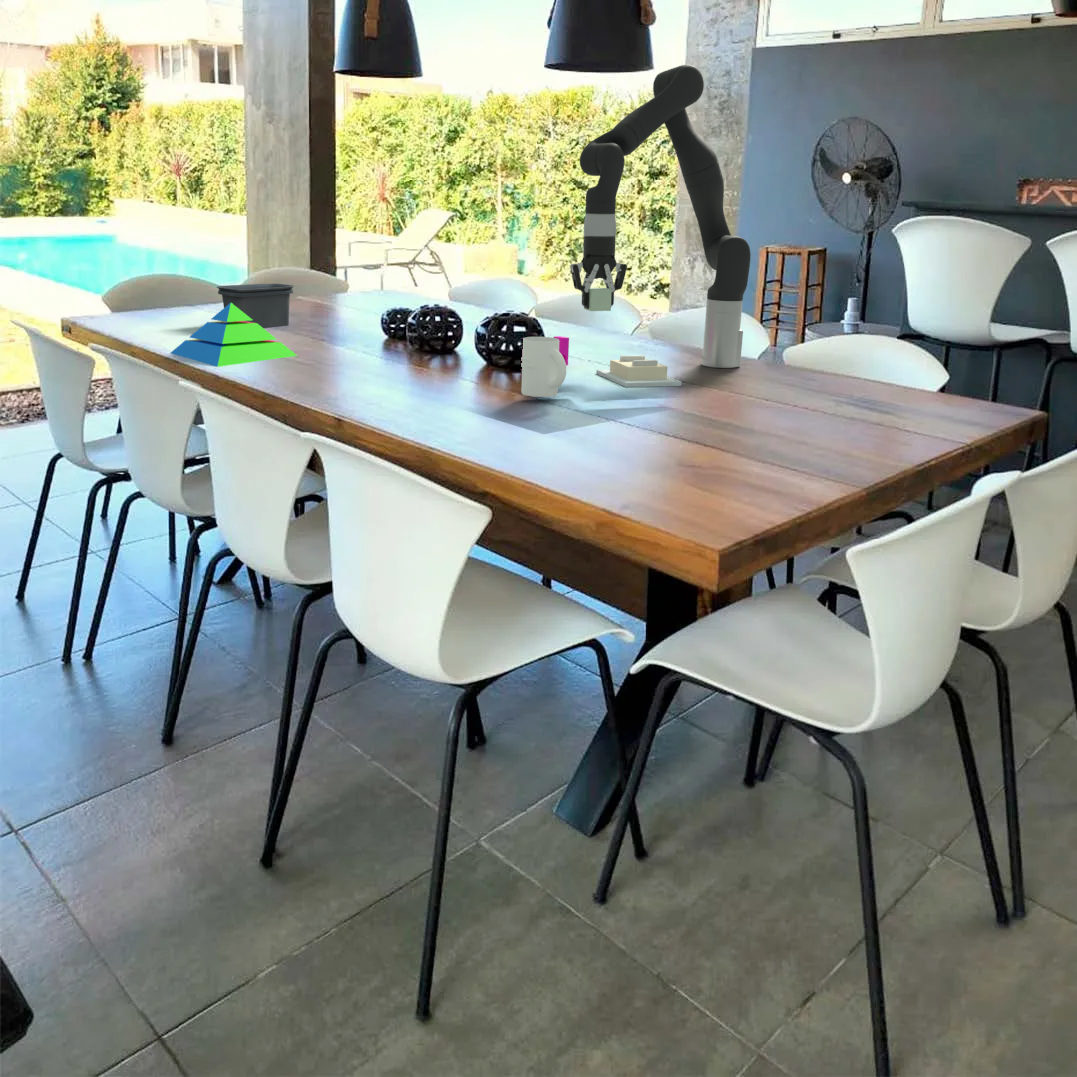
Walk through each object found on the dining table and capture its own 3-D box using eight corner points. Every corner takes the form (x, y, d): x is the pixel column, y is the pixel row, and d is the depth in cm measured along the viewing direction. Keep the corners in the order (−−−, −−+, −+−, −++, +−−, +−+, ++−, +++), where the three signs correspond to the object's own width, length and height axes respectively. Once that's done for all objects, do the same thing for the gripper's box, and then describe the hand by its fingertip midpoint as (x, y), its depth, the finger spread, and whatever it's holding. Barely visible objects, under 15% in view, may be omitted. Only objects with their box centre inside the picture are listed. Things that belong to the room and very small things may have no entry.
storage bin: (239, 338, 304) (236, 288, 299) (211, 333, 314) (208, 284, 309) (300, 333, 319) (298, 286, 314) (271, 328, 329) (269, 282, 324)
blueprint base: (648, 372, 263) (649, 352, 261) (681, 385, 245) (682, 363, 243) (596, 373, 259) (597, 352, 257) (626, 387, 241) (627, 364, 239)
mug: (549, 401, 220) (551, 344, 217) (513, 392, 229) (514, 338, 225) (577, 397, 226) (579, 341, 222) (540, 389, 234) (542, 335, 230)
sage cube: (603, 308, 251) (604, 287, 250) (610, 310, 247) (611, 289, 245) (584, 309, 250) (584, 287, 248) (591, 311, 245) (591, 289, 244)
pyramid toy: (165, 356, 270) (161, 300, 265) (249, 349, 287) (246, 296, 283) (217, 368, 254) (213, 308, 249) (302, 359, 271) (300, 304, 267)
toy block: (531, 372, 259) (532, 342, 257) (515, 369, 264) (516, 339, 261) (574, 367, 269) (575, 338, 267) (558, 364, 273) (559, 336, 271)
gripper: (622, 233, 248) (619, 306, 254) (565, 233, 244) (564, 307, 250) (634, 234, 241) (631, 309, 247) (575, 234, 237) (574, 310, 243)
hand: (597, 307), depth 248 cm, fingers closed on sage cube, 5 cm apart
